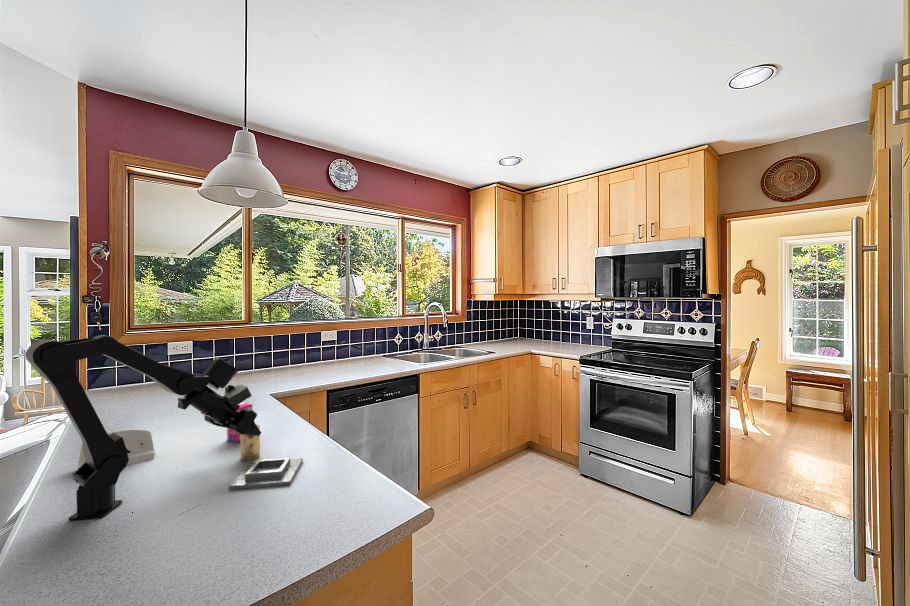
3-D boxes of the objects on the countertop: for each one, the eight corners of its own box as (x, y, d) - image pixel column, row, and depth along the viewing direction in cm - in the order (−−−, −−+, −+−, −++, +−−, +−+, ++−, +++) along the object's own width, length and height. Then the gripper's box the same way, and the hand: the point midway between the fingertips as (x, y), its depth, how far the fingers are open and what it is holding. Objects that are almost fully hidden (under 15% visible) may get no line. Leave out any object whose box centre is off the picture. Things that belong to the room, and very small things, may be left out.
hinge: (75, 475, 102) (76, 437, 105) (78, 476, 105) (78, 438, 108) (155, 458, 113) (154, 424, 115) (155, 459, 116) (154, 425, 119)
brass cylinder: (256, 460, 111) (256, 429, 111) (237, 461, 110) (237, 430, 110) (262, 453, 116) (261, 423, 116) (244, 454, 115) (244, 424, 115)
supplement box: (226, 440, 127) (225, 406, 127) (243, 434, 132) (242, 401, 132) (236, 443, 124) (236, 408, 124) (254, 437, 129) (253, 403, 129)
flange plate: (289, 485, 96) (289, 475, 96) (229, 490, 93) (228, 480, 93) (302, 461, 109) (302, 453, 109) (250, 465, 107) (250, 456, 107)
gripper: (249, 381, 103) (287, 412, 113) (215, 374, 113) (252, 403, 123) (218, 418, 97) (262, 447, 106) (185, 407, 107) (227, 435, 116)
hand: (251, 431), depth 113 cm, fingers open, 9 cm apart
